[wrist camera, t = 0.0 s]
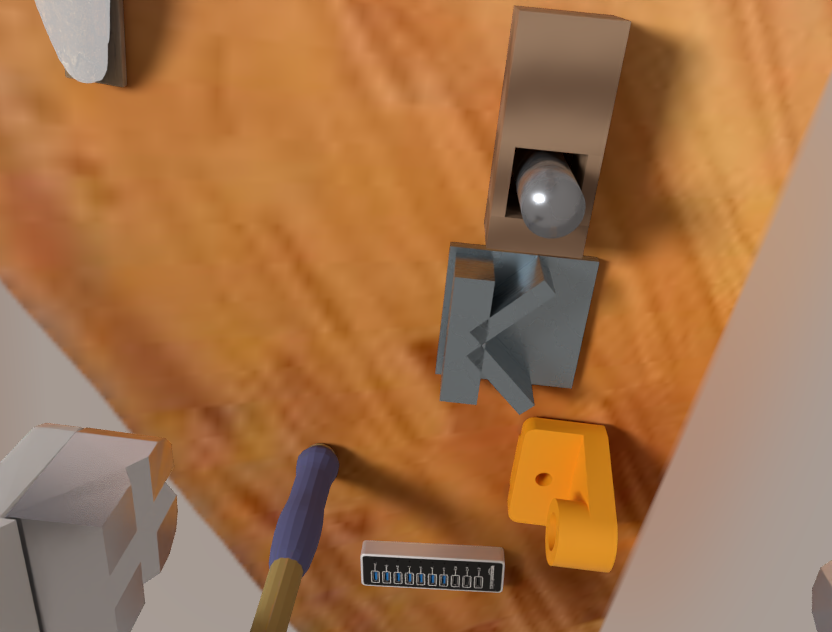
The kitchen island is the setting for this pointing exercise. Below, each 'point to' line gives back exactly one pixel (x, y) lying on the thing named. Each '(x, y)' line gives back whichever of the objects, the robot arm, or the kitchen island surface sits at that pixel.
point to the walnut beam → (554, 114)
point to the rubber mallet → (296, 537)
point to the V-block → (511, 322)
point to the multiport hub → (432, 566)
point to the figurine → (87, 38)
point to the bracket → (566, 491)
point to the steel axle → (547, 193)
